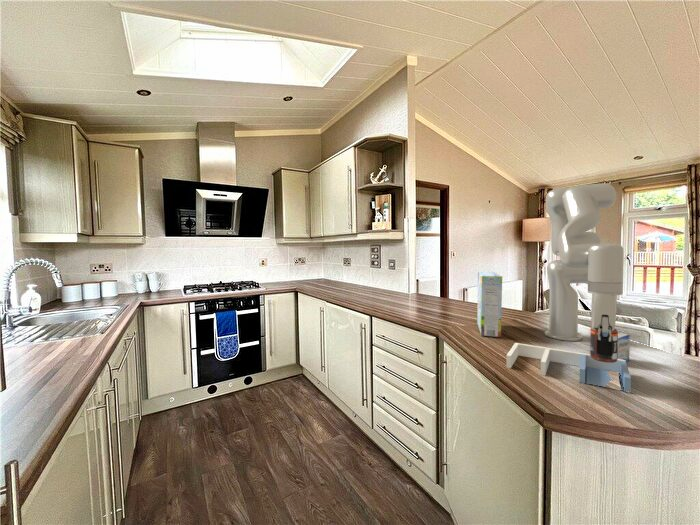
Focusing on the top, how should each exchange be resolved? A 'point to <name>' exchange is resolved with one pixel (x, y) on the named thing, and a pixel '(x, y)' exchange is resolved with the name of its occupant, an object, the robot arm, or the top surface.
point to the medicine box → (623, 346)
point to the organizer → (572, 363)
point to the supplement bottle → (594, 346)
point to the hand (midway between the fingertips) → (603, 350)
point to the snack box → (489, 304)
